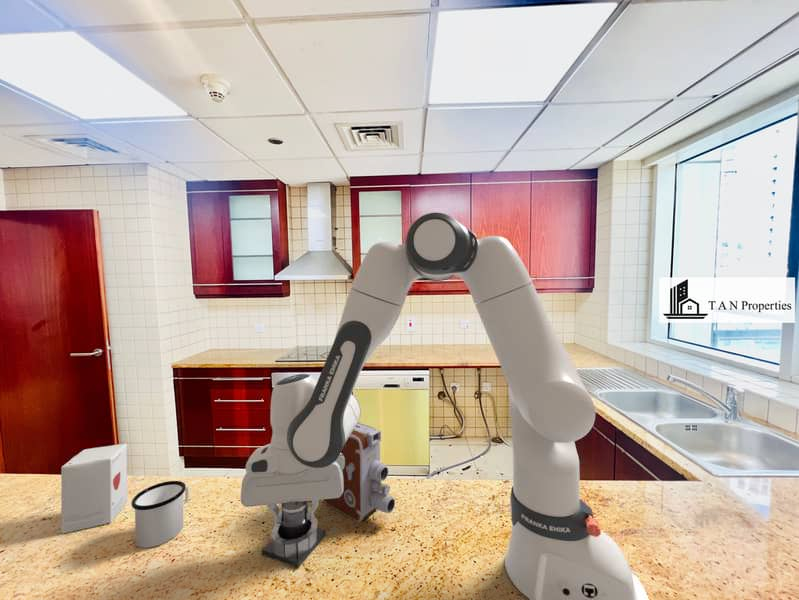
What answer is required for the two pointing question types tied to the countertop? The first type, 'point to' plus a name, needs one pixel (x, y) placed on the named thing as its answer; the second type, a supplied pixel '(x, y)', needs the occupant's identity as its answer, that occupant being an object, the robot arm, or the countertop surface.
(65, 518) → the supplement box
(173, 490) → the mug
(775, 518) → the countertop surface
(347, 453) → the cine camera
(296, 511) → the lens
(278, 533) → the mount
